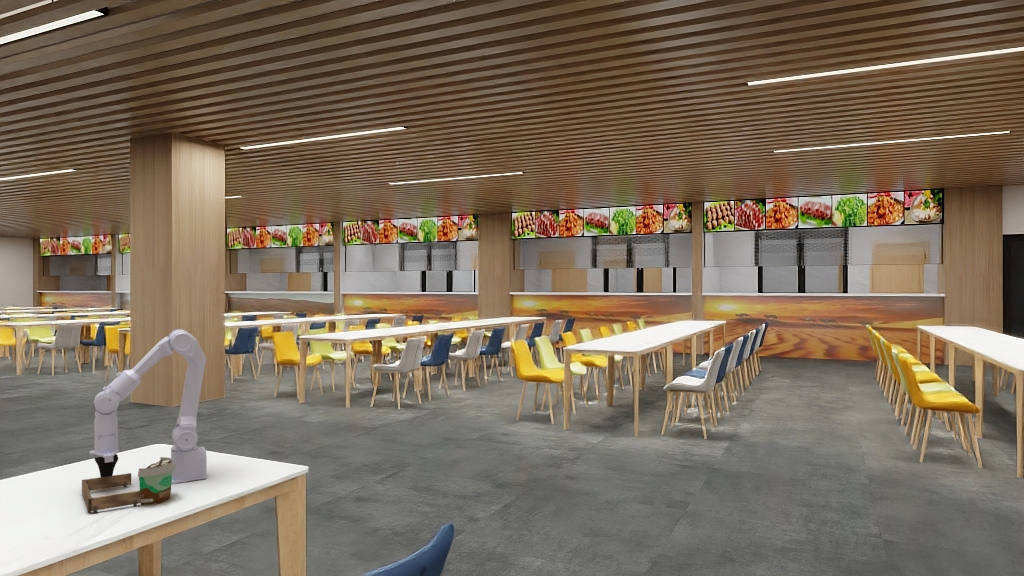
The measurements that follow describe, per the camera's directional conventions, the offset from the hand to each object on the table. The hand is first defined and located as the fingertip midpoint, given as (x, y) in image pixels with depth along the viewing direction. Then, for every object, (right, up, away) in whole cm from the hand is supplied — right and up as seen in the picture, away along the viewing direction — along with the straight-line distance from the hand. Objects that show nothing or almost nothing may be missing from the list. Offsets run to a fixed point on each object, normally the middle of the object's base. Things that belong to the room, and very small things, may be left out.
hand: (106, 482), depth 198 cm
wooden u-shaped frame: (+6, -2, -9) cm, 11 cm away
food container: (+20, -3, -9) cm, 22 cm away
